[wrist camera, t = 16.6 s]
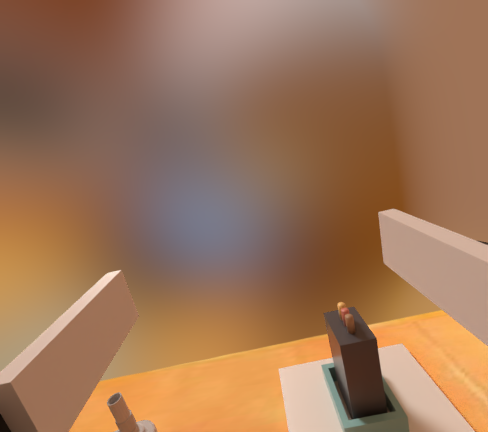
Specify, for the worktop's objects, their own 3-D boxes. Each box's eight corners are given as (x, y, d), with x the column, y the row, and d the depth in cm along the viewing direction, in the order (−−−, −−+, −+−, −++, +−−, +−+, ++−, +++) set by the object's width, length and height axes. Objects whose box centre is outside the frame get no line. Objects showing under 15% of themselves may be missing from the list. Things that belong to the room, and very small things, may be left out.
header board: (300, 499, 27) (293, 475, 27) (279, 373, 43) (275, 356, 42) (496, 464, 26) (496, 438, 25) (402, 348, 42) (400, 330, 41)
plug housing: (355, 428, 31) (336, 330, 28) (338, 385, 37) (321, 299, 34) (388, 422, 31) (373, 322, 28) (366, 380, 37) (351, 293, 34)
